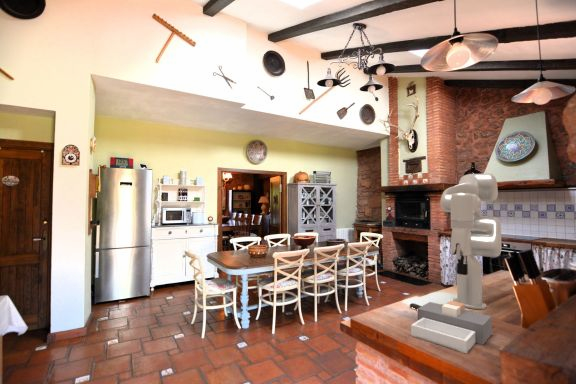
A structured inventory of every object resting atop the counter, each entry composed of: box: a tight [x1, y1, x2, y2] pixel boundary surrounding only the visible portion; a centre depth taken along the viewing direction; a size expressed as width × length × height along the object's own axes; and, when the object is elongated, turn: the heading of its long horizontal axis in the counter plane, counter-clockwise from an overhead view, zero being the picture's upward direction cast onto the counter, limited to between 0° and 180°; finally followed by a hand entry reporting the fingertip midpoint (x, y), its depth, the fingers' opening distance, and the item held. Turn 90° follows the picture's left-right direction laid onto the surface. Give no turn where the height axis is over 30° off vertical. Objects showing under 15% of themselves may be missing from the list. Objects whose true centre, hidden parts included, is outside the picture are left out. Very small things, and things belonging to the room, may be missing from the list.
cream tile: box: [442, 303, 461, 317], centre depth 101 cm, size 4×4×2 cm
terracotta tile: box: [446, 300, 466, 313], centre depth 105 cm, size 4×4×2 cm
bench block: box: [417, 301, 493, 346], centre depth 103 cm, size 12×20×6 cm, turn 45°
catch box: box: [410, 318, 477, 354], centre depth 95 cm, size 10×16×4 cm, turn 45°
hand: (462, 274), depth 111 cm, fingers closed
